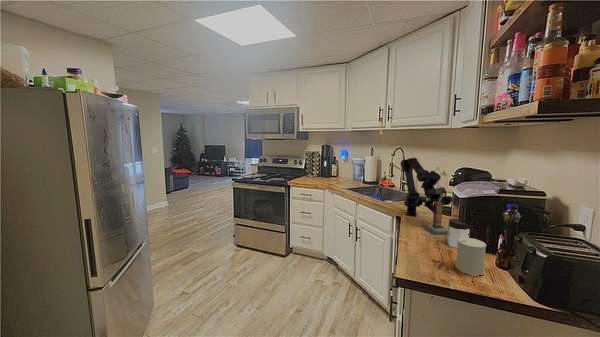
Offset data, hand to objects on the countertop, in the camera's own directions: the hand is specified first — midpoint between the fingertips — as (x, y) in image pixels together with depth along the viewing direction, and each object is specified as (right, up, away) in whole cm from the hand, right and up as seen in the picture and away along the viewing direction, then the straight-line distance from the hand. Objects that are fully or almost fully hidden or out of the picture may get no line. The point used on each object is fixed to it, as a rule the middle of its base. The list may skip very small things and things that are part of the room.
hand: (439, 214), depth 135 cm
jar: (0, -13, -16) cm, 20 cm away
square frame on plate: (0, -10, +2) cm, 11 cm away
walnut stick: (0, -6, +2) cm, 7 cm away
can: (-10, -15, -39) cm, 43 cm away
